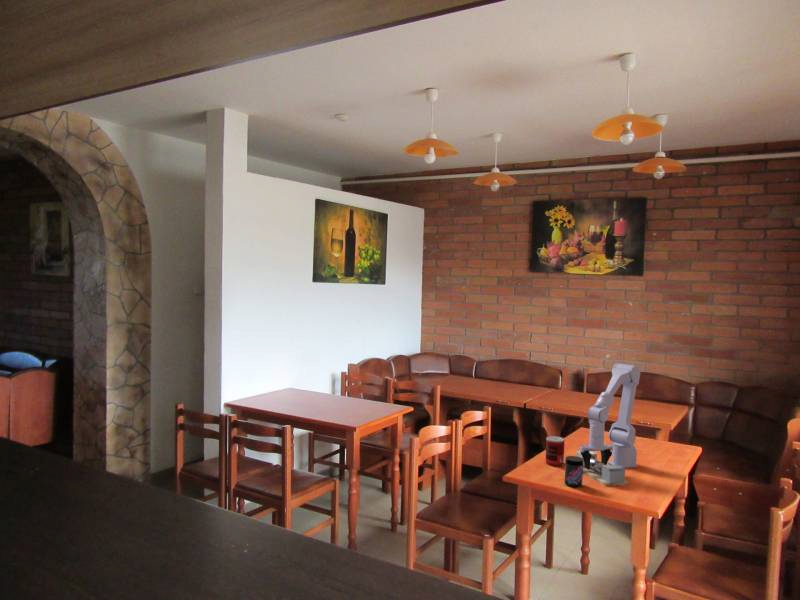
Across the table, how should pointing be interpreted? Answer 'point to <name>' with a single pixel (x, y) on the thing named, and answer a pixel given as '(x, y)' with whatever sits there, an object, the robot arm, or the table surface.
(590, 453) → the sleeve
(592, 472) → the board
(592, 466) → the tube
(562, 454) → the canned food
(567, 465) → the supplement container
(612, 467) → the socket
